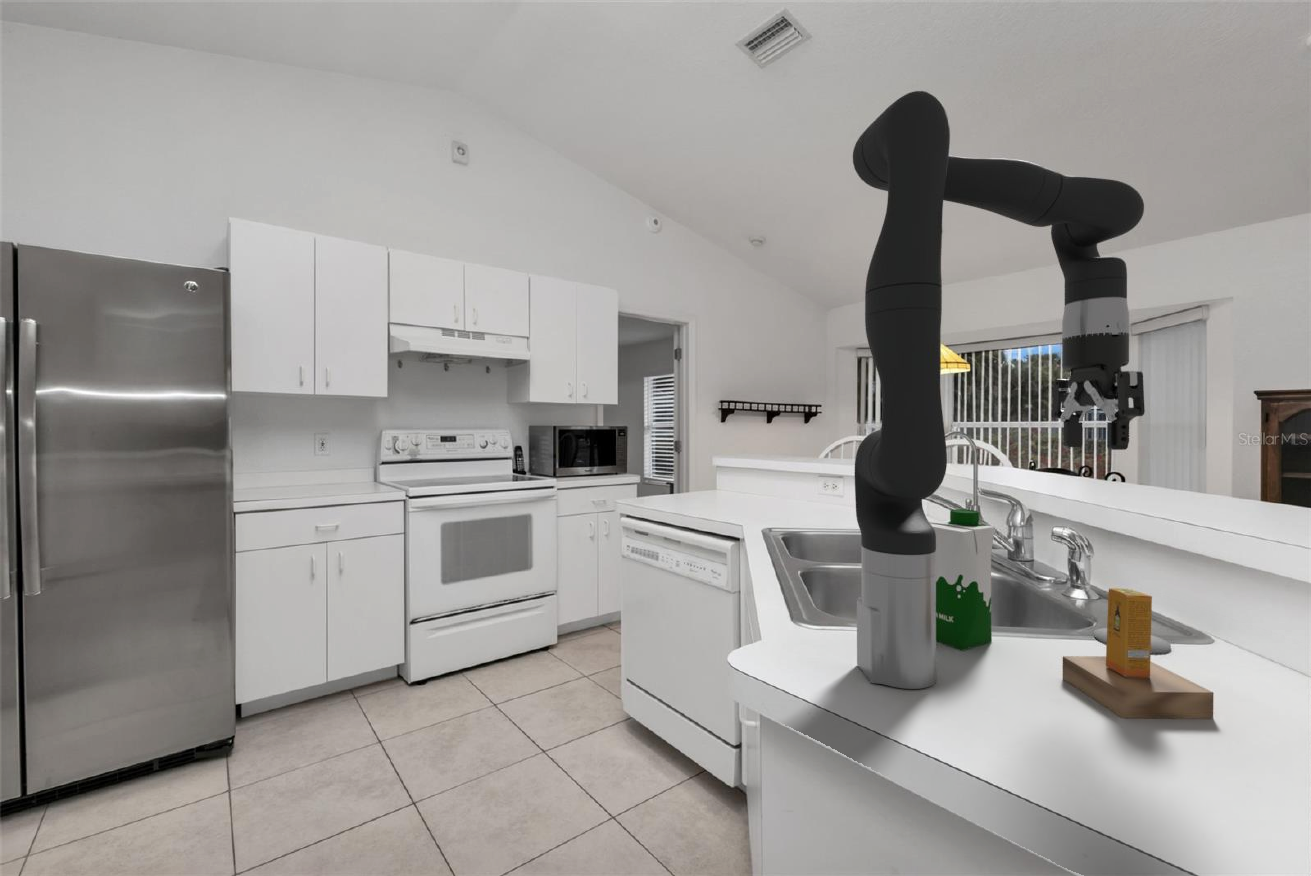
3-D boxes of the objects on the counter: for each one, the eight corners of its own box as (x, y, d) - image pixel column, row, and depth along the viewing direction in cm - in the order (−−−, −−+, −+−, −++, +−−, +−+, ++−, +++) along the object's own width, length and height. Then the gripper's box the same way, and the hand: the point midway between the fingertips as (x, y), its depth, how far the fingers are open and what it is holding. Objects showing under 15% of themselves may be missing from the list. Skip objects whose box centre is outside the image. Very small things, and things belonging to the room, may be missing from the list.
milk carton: (1001, 642, 87) (1001, 513, 86) (963, 654, 83) (963, 518, 82) (948, 625, 94) (948, 506, 94) (912, 634, 90) (912, 510, 90)
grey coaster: (1124, 653, 82) (1124, 650, 82) (1080, 631, 91) (1080, 628, 91) (1188, 653, 82) (1188, 650, 82) (1137, 631, 91) (1137, 628, 91)
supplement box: (1154, 678, 67) (1155, 595, 67) (1124, 678, 68) (1125, 595, 67) (1132, 666, 71) (1132, 587, 70) (1103, 666, 71) (1104, 587, 71)
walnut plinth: (1122, 717, 64) (1122, 691, 64) (1062, 678, 74) (1062, 656, 74) (1213, 718, 64) (1213, 692, 64) (1140, 679, 74) (1140, 656, 74)
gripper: (1035, 342, 87) (1035, 446, 88) (1105, 326, 73) (1105, 450, 73) (1085, 341, 87) (1085, 446, 87) (1165, 325, 73) (1164, 450, 73)
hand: (1094, 448), depth 80 cm, fingers open, 8 cm apart
